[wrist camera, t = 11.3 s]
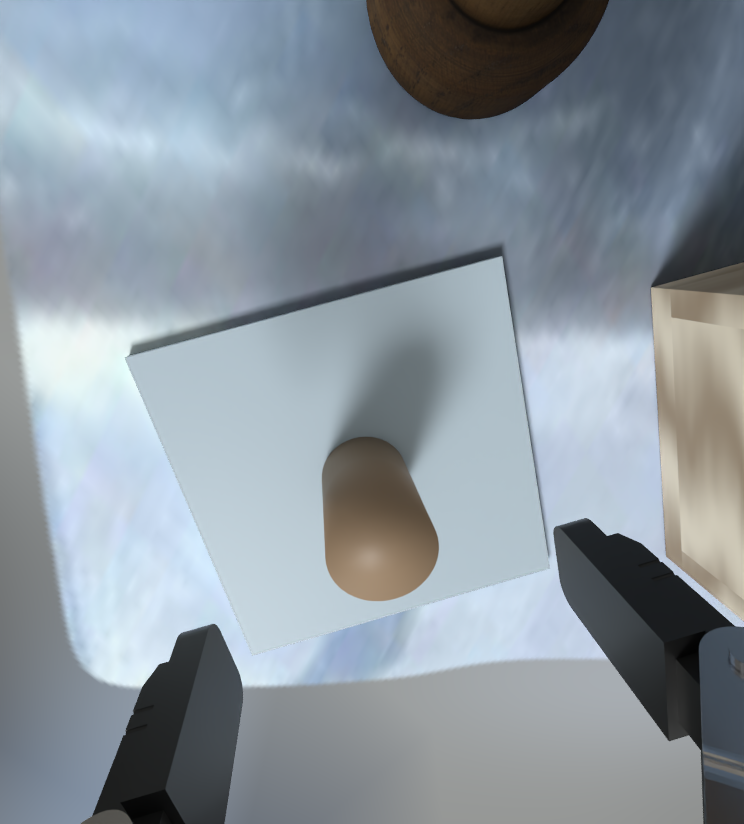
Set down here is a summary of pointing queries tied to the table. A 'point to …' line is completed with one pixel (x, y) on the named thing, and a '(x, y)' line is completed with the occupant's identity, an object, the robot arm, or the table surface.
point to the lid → (354, 453)
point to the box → (703, 427)
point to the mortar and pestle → (480, 48)
